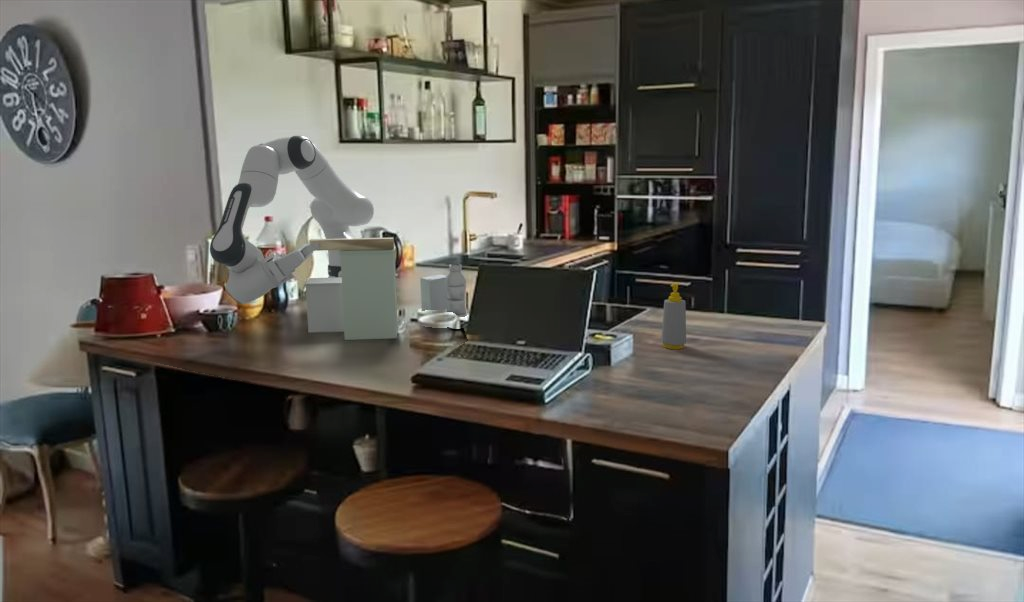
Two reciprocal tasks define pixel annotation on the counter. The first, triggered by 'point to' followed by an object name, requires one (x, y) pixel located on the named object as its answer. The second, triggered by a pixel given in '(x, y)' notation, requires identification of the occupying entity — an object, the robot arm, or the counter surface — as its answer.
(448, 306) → the plastic bottle
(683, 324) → the soap bottle
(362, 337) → the stand
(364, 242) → the rail
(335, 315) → the grey box
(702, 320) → the counter surface
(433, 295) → the skincare box
